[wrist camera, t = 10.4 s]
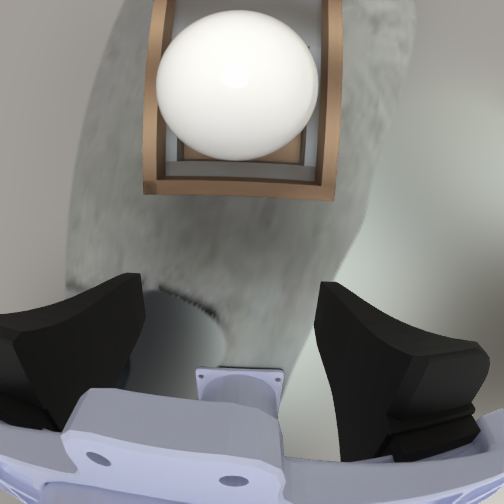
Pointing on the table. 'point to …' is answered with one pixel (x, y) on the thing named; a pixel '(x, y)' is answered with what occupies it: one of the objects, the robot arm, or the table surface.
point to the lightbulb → (237, 85)
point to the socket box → (267, 167)
